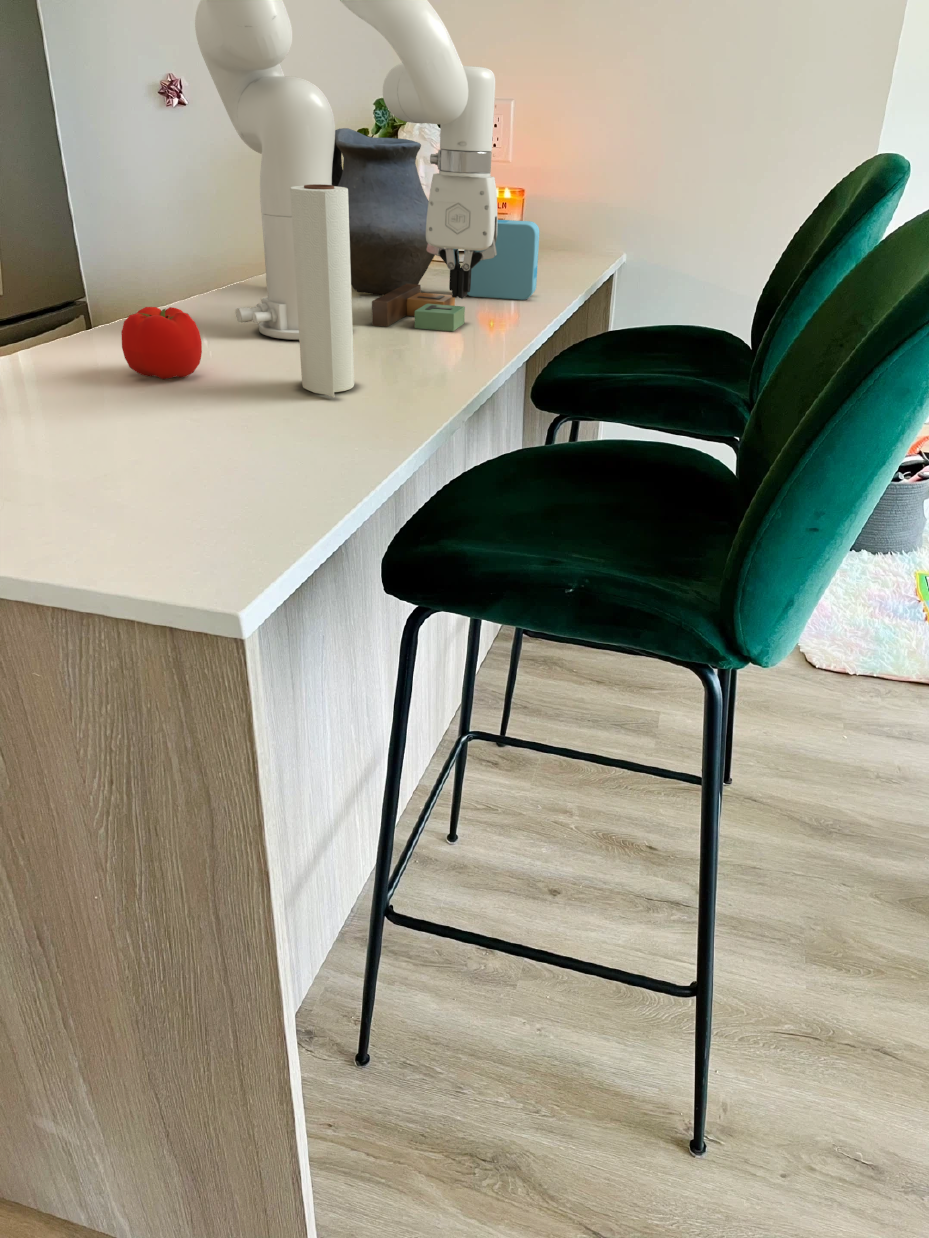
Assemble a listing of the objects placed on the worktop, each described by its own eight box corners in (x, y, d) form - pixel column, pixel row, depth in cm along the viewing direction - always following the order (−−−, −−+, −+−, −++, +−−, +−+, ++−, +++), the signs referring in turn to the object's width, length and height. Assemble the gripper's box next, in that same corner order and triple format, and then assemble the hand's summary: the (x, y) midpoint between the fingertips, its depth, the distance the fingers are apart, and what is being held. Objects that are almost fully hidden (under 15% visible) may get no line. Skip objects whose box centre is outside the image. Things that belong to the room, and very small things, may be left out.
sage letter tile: (453, 331, 138) (453, 313, 136) (414, 328, 139) (414, 310, 138) (464, 323, 143) (465, 305, 141) (426, 320, 144) (426, 302, 143)
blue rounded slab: (536, 296, 164) (540, 221, 158) (532, 300, 160) (536, 224, 154) (468, 292, 166) (470, 218, 160) (462, 296, 162) (464, 221, 156)
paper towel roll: (318, 378, 113) (308, 182, 103) (363, 384, 111) (357, 185, 101) (286, 393, 107) (273, 186, 97) (334, 399, 105) (325, 190, 95)
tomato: (167, 389, 107) (159, 321, 104) (111, 377, 111) (101, 312, 108) (223, 372, 115) (217, 308, 111) (169, 361, 118) (161, 299, 115)
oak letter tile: (443, 318, 145) (443, 301, 144) (406, 315, 147) (406, 298, 146) (454, 311, 150) (455, 294, 149) (419, 308, 152) (419, 291, 151)
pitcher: (396, 306, 153) (394, 133, 141) (293, 291, 163) (283, 128, 151) (463, 288, 168) (466, 131, 156) (365, 275, 178) (361, 127, 166)
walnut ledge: (387, 326, 139) (387, 302, 138) (372, 325, 140) (371, 301, 138) (420, 307, 153) (420, 284, 151) (406, 306, 153) (406, 283, 152)
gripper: (408, 162, 135) (405, 296, 144) (509, 169, 132) (501, 305, 141) (423, 161, 142) (420, 288, 150) (521, 167, 138) (512, 297, 147)
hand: (459, 296), depth 145 cm, fingers closed
